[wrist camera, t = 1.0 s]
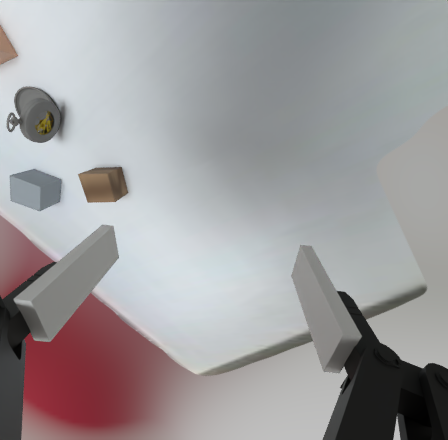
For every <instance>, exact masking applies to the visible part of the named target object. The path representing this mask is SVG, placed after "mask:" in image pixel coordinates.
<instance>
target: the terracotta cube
mask: <svg viewBox="0 0 448 440" xmlns="http://www.w3.org/2000/svg"><path fill="white" fill-rule="evenodd" d="M17 56H18V55H17V53H16V51H15V49H14V48H13V46H12V44H11V43H10V41H9V39H8V38H7V36H6V34H5V32H4V31H3V29H2V27H1V26H0V64H3V63H5V62H7V61H9V60H11V59H13V58H15V57H17Z"/></svg>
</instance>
